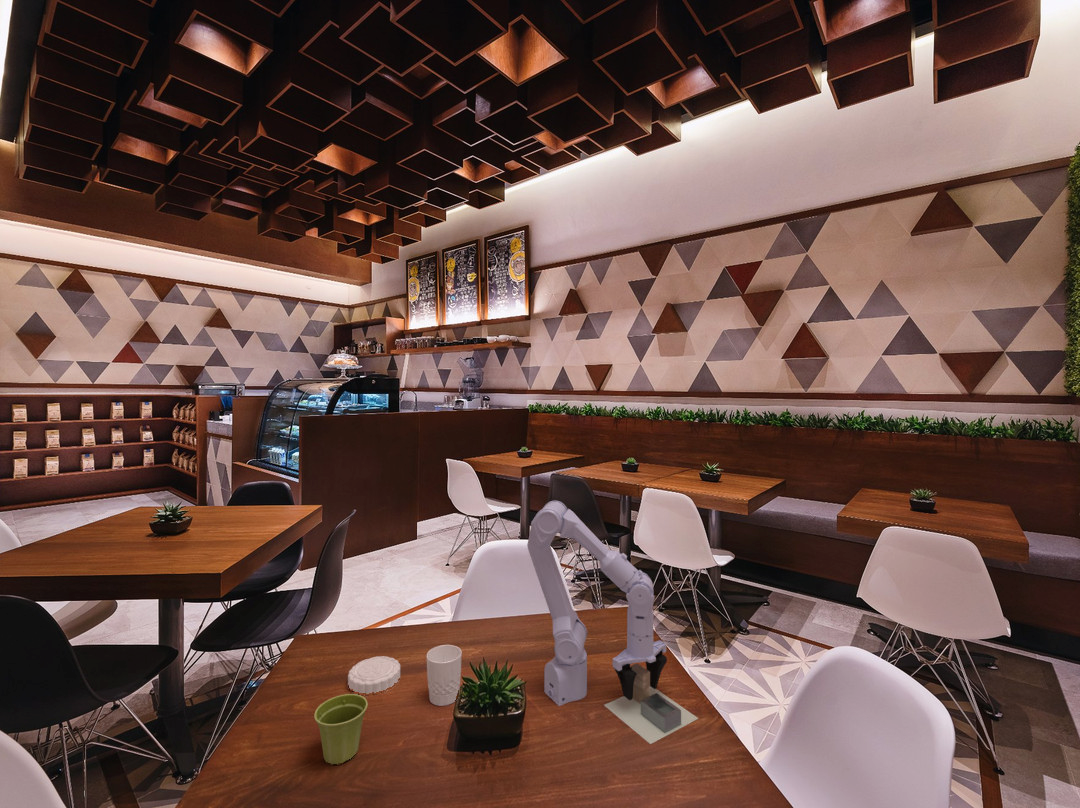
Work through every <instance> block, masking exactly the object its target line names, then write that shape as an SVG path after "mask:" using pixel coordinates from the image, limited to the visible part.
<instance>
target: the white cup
mask: <svg viewBox="0 0 1080 808" xmlns="http://www.w3.org/2000/svg"><path fill="white" fill-rule="evenodd" d="M462 655H463V652H462V649H461V648H460V647H459V646H456V645H453V644H441V645H437V646H434V647H432V648H430V649H429V650H428V651H427V653H426V674H427V687H428V699H429V702H430V703H431V704H433V705H435V706H438V707H442V706H443V707H444V706H449V705H451V704H454V703H455V702H456V701H457V700H456V696H457V693H458V690H459V691H460V686H461V675H462ZM455 700H456V701H455Z"/></svg>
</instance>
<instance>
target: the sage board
mask: <svg viewBox="0 0 1080 808" xmlns="http://www.w3.org/2000/svg"><path fill="white" fill-rule="evenodd" d="M656 693H657V694H659V695H660V696H662V697H663V698H665V699H666V700H667V701H669V702H670V703H672V704H673V705H675V706H676V707H677V708H679V709H680V710H681V725H680V726H678V727H676V728H674V729H672V730H670V731H668V732H666V733H664V732H662V731H661V730H660V729H659V728H657V727H656V726H655V725H653V724H652V723H651V722H650V721H648V720H647V719H646V718H645V717H643V716H642V715H641V704H639V703H638V702H637V701H636V700H634V699H633V698H632V700H628V699H627V698H626V697H624V695H623V696H621V697H619V698H616V699H614V700H612V701H610V702H607V703H605V704H603V706H604V707H605V708H606V709H608V710H609V711H610V712H611V713H613V715H615V717H617V718H619V719H620V720H621V721H622V722H623V723H624V724H626V725H627V726H628V727H629V728H630V729H631V730H633V731H634V732H635V733H637V735H638V736H639V737H641V738H642V739H643V740H645V741H646V742H647V743H648V744H650V745H652V744H654V743H656V742H658V741H659V740H661V739H662V738H665V737H667V736H669V735H671V734H672V733H674V732H676V731H678V730H680V729H683V727H685V726H688V725H689V724H690V723H693V722H694V721H697V720H699V717H698V716H696V715H694V714H693V713H692V712H690V711H688V710H687V709H685V708H684V707H683V706H682V705H680V704H678V703H677V702H676V701H674V700H673V699H671V698H670V697H668V696H667V695H665V694H664V693H663V692H661V691H660V690H659V689H657V688H656V689H653V688H652V687H650V696H651V695H653V694H656Z"/></svg>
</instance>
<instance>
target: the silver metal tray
mask: <svg viewBox="0 0 1080 808" xmlns="http://www.w3.org/2000/svg"><path fill="white" fill-rule="evenodd" d="M641 715H642V716H643V717H645V718H646V719H647V720H648V721H650V722H651V723H652V724H653V725H655V726H656V727H657V728H659V729H660V730H661V731H662V732H664V733H666V732H668V731H670V730H672V729H674V728H676V727H678V726H680V725H681V710H680V709H679V708H677V707H676V706H675V705H673V704H672V703H670V702H669V701H667V700H666V699H665V698H663V697H662V696H660V695H659V694H657V693H656V694H653V695H651V696H649V697H647V698H645V699H643V700H641Z"/></svg>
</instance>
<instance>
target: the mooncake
mask: <svg viewBox="0 0 1080 808" xmlns="http://www.w3.org/2000/svg"><path fill="white" fill-rule="evenodd" d="M399 678H400V679H401V663H399V661H398V660H397V659H395V657H389V656H385V655H383V656H382V655H379V656H378V655H377V656H374V657H373V656H372V657H370V658H366V659H363V660H361V661H359V662H357V664H355V665H353V666H352V667H351V669H350V670H349V671H348V675H347V686H348V685H349V688H350V689H353V691H355V692H359V693H366V694H369V693H372V692H374V693H376V692H379V691H383V690H386V689H387V688H389V687H392V686H393V685H394V683H397V682H398V683H399V681H398V679H399ZM349 688H348V689H349Z"/></svg>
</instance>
